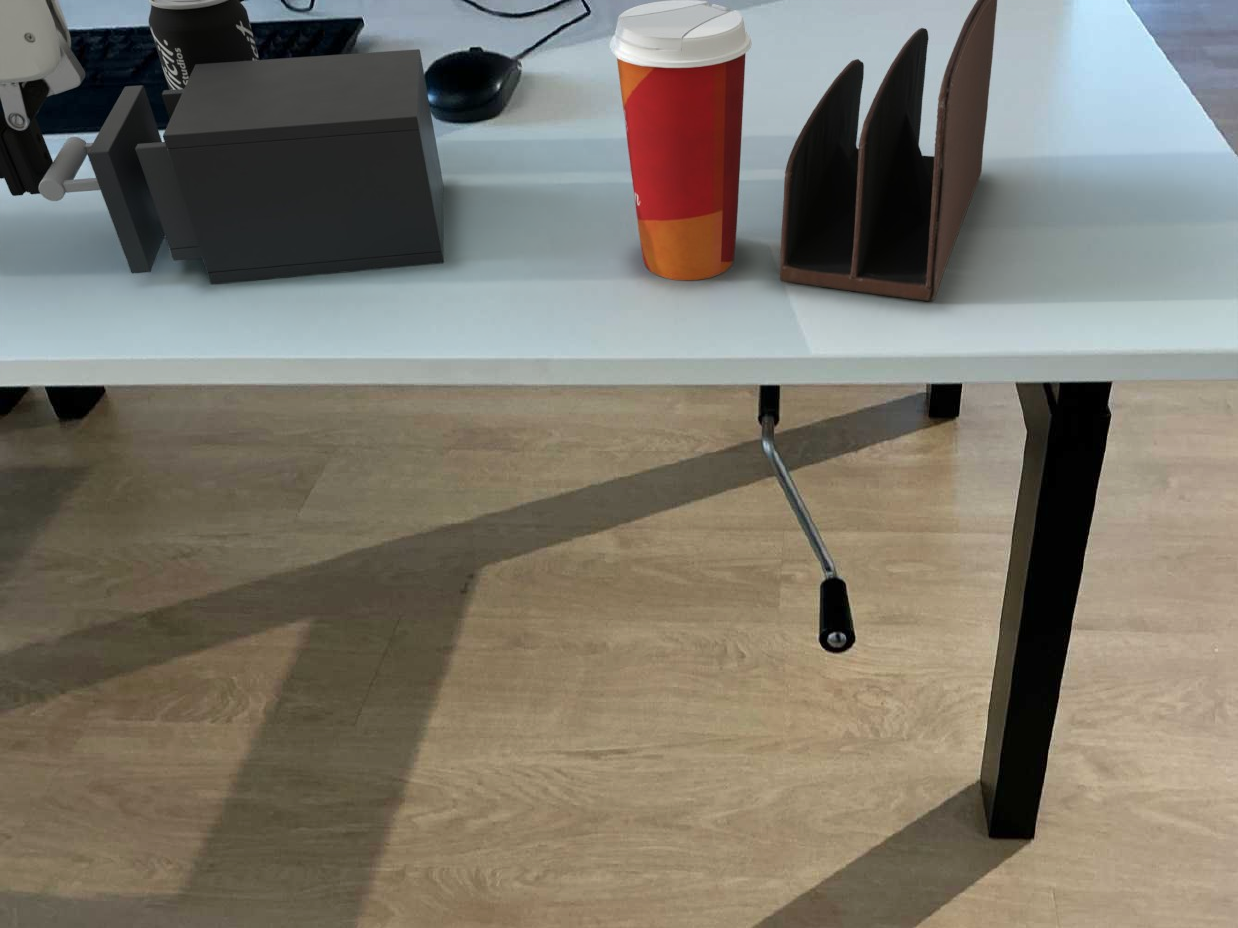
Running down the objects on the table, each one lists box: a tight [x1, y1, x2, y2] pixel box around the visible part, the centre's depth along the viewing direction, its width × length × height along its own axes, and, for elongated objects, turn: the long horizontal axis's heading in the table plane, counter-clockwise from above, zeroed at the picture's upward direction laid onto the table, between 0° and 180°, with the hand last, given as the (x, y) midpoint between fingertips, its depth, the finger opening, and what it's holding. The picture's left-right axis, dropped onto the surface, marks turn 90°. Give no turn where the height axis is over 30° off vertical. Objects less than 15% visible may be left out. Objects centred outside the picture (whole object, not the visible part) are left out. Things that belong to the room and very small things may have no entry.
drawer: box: [39, 85, 202, 275], centre depth 78 cm, size 18×11×8 cm, turn 101°
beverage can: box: [148, 0, 260, 90], centre depth 87 cm, size 7×7×12 cm
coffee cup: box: [609, 0, 753, 281], centre depth 73 cm, size 8×8×15 cm
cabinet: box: [162, 48, 445, 285], centre depth 79 cm, size 15×13×10 cm
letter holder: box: [778, 0, 998, 302], centre depth 77 cm, size 10×20×14 cm, turn 163°
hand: (32, 185), depth 76 cm, fingers closed
